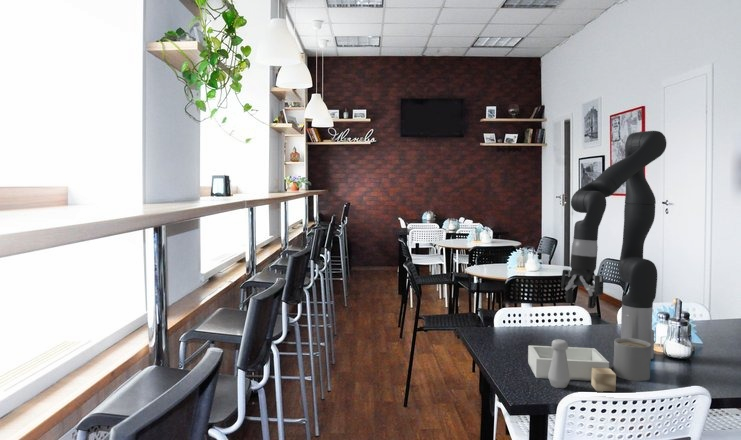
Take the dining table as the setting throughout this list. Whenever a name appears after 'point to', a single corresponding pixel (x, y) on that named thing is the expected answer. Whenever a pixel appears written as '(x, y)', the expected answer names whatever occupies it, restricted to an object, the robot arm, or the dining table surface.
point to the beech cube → (603, 379)
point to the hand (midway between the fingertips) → (579, 305)
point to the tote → (576, 358)
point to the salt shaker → (559, 365)
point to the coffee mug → (632, 359)
